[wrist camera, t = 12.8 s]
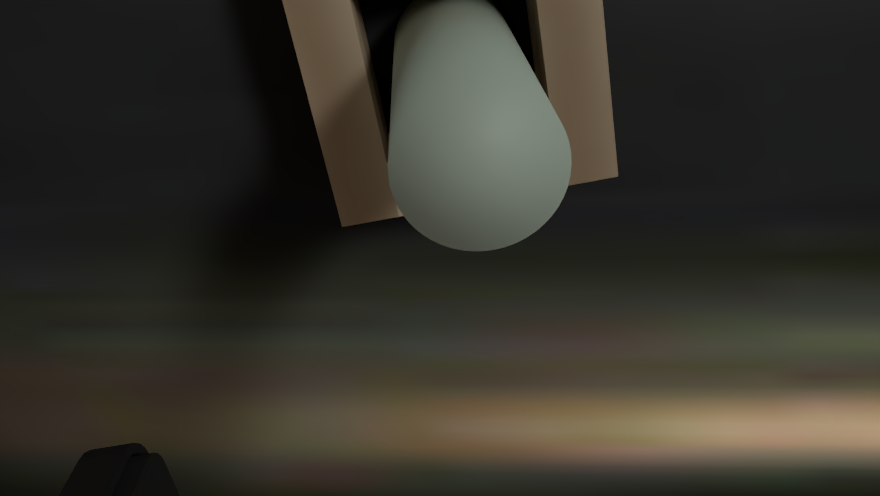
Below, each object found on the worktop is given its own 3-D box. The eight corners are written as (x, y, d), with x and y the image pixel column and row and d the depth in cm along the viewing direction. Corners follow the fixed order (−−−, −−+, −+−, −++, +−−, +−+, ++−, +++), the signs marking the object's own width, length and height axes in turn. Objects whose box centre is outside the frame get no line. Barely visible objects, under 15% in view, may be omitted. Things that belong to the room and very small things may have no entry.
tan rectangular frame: (571, -134, 26) (590, -130, 23) (599, 146, 30) (618, 176, 28) (279, -74, 26) (264, -65, 24) (347, 193, 31) (342, 227, 28)
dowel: (499, -26, 27) (560, 62, 17) (515, 88, 29) (580, 233, 18) (383, -3, 28) (369, 98, 17) (406, 109, 29) (407, 265, 19)
